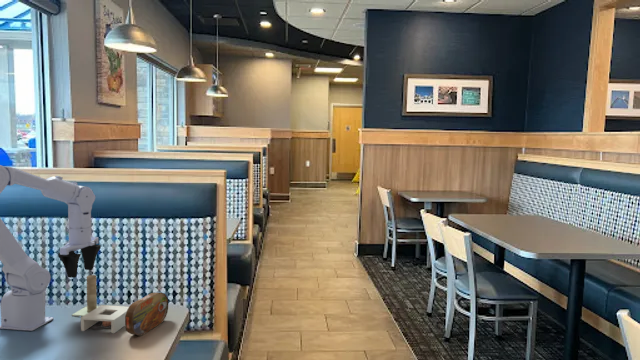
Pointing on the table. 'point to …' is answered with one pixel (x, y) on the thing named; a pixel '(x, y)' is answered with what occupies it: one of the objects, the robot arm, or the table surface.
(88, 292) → the wooden block
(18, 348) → the table surface
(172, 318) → the table surface
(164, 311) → the tin
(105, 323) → the button
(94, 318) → the box
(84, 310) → the mat
